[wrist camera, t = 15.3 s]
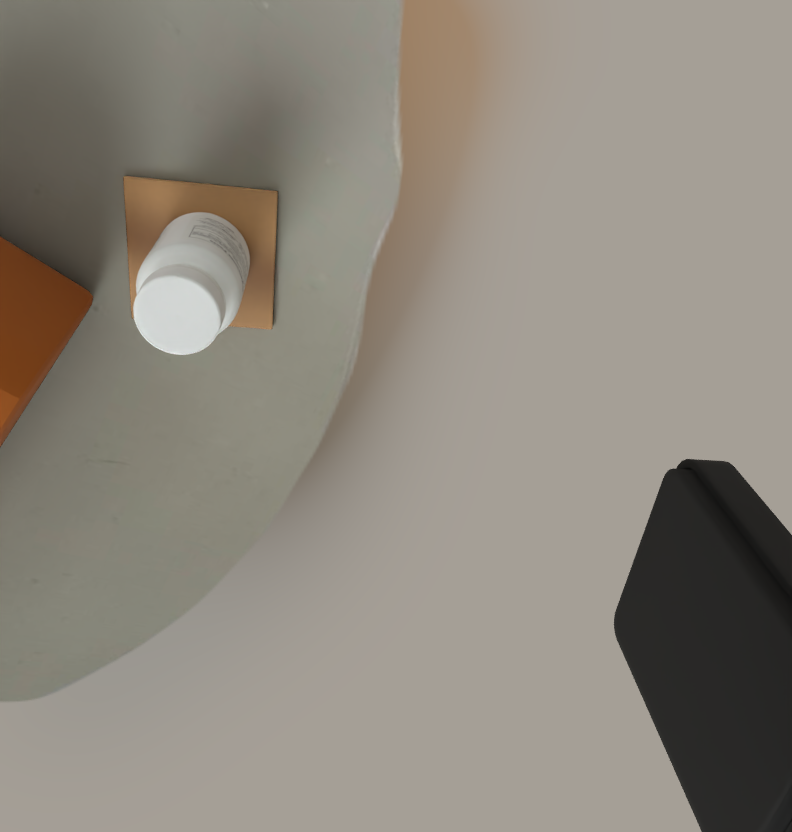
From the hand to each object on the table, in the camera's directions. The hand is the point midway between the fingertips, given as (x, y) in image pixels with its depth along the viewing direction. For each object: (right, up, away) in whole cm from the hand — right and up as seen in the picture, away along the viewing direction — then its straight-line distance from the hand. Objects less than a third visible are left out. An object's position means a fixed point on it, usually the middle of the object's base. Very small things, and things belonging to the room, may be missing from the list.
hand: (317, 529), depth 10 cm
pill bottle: (-8, +9, +27) cm, 29 cm away
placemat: (-8, +9, +27) cm, 29 cm away
